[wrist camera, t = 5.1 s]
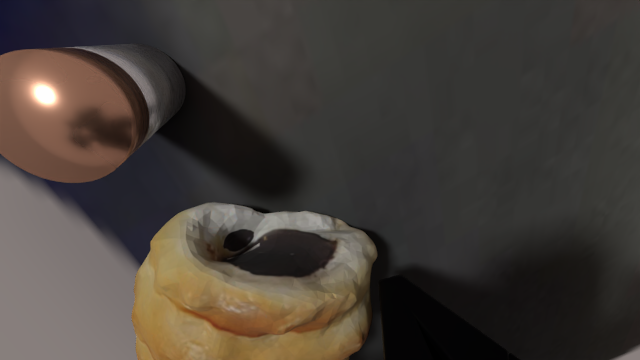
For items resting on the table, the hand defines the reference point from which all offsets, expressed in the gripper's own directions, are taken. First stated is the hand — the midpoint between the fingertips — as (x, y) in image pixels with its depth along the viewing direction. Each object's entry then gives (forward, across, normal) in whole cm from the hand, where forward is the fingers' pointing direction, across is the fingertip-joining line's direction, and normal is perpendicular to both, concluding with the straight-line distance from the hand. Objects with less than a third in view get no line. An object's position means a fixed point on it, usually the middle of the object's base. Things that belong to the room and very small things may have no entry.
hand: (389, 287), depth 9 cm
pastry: (+2, +4, +1) cm, 5 cm away
